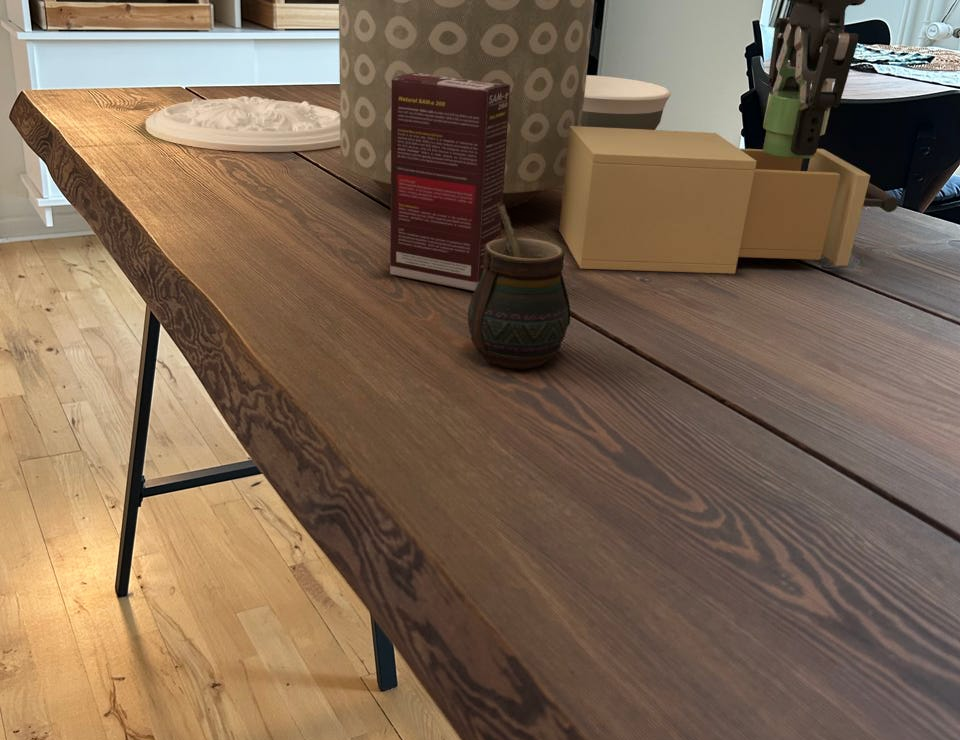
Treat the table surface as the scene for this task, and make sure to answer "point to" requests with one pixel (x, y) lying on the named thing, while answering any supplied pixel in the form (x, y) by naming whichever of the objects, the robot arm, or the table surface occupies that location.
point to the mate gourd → (519, 301)
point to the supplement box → (446, 176)
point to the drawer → (807, 207)
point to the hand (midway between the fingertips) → (790, 146)
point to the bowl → (622, 103)
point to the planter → (467, 76)
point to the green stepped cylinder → (783, 123)
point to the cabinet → (654, 200)
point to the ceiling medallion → (247, 125)
